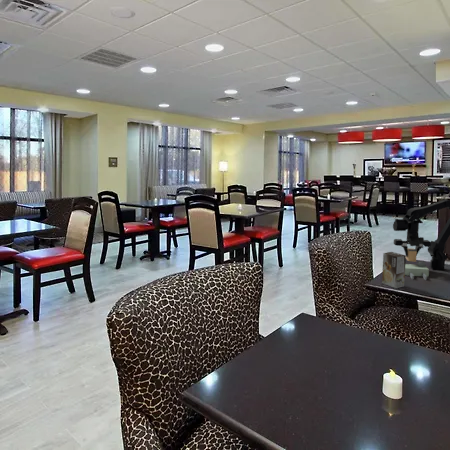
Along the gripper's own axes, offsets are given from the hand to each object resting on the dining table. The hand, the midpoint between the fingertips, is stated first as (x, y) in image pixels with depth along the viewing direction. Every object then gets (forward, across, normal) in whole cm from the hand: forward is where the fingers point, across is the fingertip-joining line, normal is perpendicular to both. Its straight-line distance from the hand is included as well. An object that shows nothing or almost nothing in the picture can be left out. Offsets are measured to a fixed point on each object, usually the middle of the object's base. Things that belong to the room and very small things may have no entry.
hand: (410, 257), depth 223 cm
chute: (+2, 0, 0) cm, 2 cm away
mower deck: (+7, 0, -14) cm, 15 cm away
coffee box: (+7, -15, -33) cm, 37 cm away
